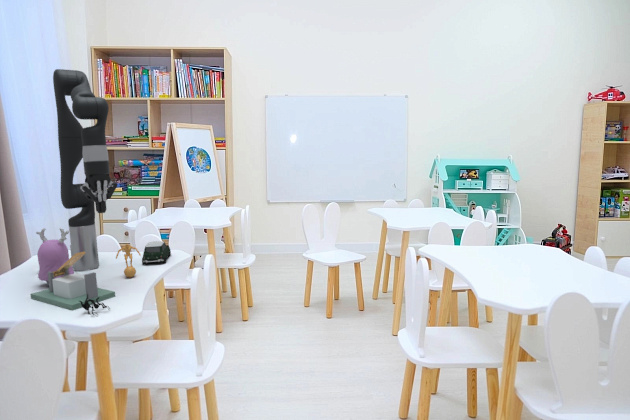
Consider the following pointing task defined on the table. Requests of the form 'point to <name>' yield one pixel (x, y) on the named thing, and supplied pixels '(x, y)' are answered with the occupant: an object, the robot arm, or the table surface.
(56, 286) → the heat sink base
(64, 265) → the strap
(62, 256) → the toy character
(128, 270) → the figurine
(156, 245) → the miniature car
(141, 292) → the table surface
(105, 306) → the creature
